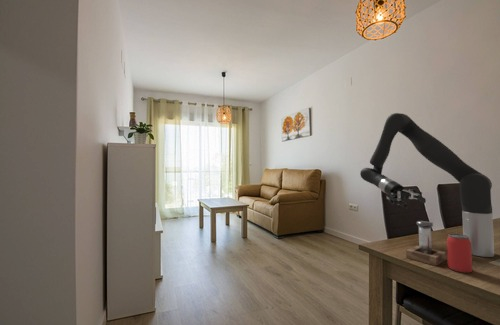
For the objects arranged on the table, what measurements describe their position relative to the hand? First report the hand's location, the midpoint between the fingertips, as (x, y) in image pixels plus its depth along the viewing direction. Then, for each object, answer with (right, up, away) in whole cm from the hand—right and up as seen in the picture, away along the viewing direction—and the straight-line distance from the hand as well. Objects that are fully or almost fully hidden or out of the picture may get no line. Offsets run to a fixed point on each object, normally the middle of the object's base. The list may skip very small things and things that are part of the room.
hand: (416, 204), depth 107 cm
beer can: (0, -20, -22) cm, 29 cm away
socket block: (-4, -20, -12) cm, 23 cm away
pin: (-4, -20, -11) cm, 23 cm away
